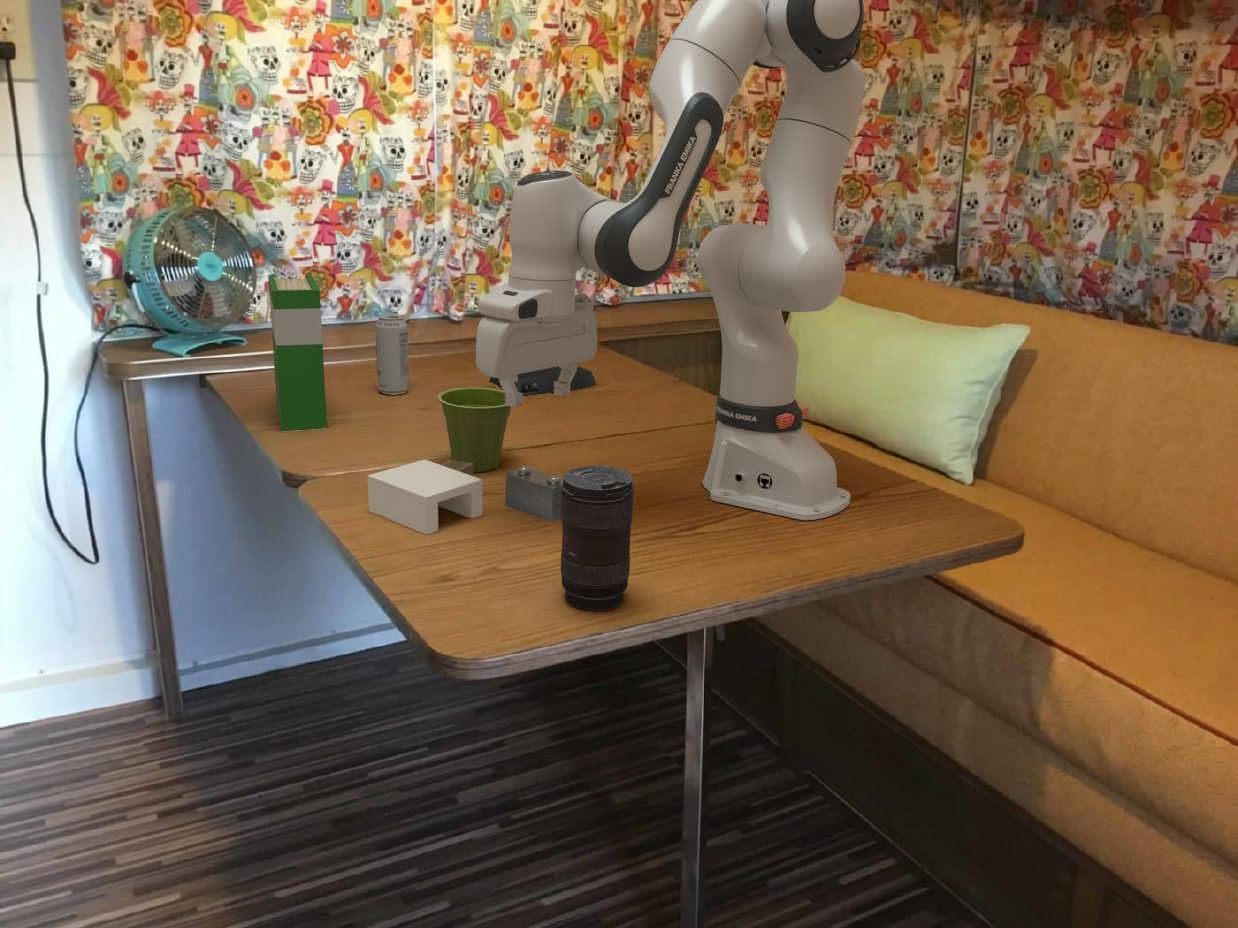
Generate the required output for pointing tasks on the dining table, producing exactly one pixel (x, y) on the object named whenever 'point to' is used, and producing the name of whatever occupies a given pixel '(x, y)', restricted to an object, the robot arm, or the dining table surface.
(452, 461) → the walnut block
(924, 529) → the dining table surface
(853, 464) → the dining table surface
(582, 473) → the camera lens
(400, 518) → the stand
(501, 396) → the plant pot
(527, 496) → the block
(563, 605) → the dining table surface
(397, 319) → the energy drink can
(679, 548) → the dining table surface
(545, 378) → the external hard drive
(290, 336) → the hardback book
